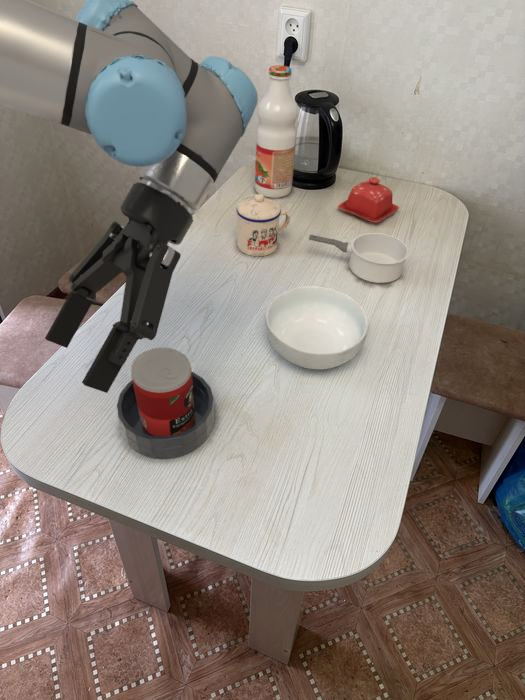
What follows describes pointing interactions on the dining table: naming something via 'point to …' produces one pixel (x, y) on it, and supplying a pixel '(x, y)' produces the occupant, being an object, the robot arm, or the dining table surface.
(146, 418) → the canned food
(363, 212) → the butter dish
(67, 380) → the dining table surface
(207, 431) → the dark grey round dish
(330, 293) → the cereal bowl
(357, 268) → the saucepan
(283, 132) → the fruit juice
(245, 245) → the teacup with lid
